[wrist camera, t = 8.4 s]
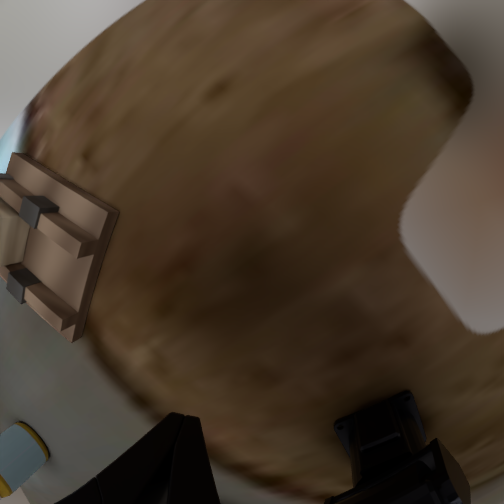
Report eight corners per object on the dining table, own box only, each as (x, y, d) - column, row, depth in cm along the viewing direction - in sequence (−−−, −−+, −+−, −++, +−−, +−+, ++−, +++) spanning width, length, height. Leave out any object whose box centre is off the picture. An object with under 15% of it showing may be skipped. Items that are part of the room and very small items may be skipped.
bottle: (56, 453, 29) (-7, 512, 14) (44, 462, 30) (-11, 513, 16) (22, 414, 29) (-46, 465, 14) (14, 427, 30) (-46, 472, 16)
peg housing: (119, 211, 21) (48, 216, 14) (81, 337, 24) (24, 371, 17) (23, 153, 23) (-37, 147, 15) (-2, 261, 25) (-54, 273, 18)
